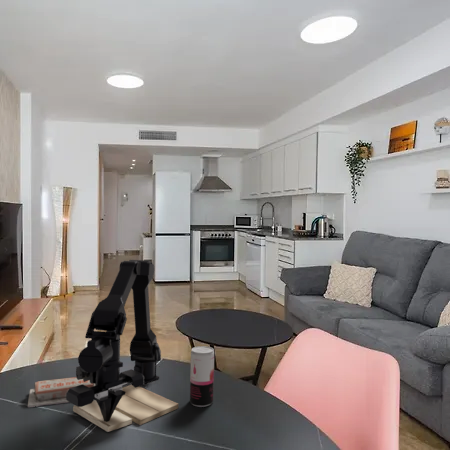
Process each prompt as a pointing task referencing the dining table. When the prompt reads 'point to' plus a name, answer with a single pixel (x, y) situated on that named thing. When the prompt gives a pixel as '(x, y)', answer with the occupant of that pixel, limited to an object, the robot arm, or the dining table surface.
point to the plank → (95, 416)
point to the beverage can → (202, 376)
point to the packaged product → (53, 391)
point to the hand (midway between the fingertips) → (106, 421)
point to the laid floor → (143, 404)
